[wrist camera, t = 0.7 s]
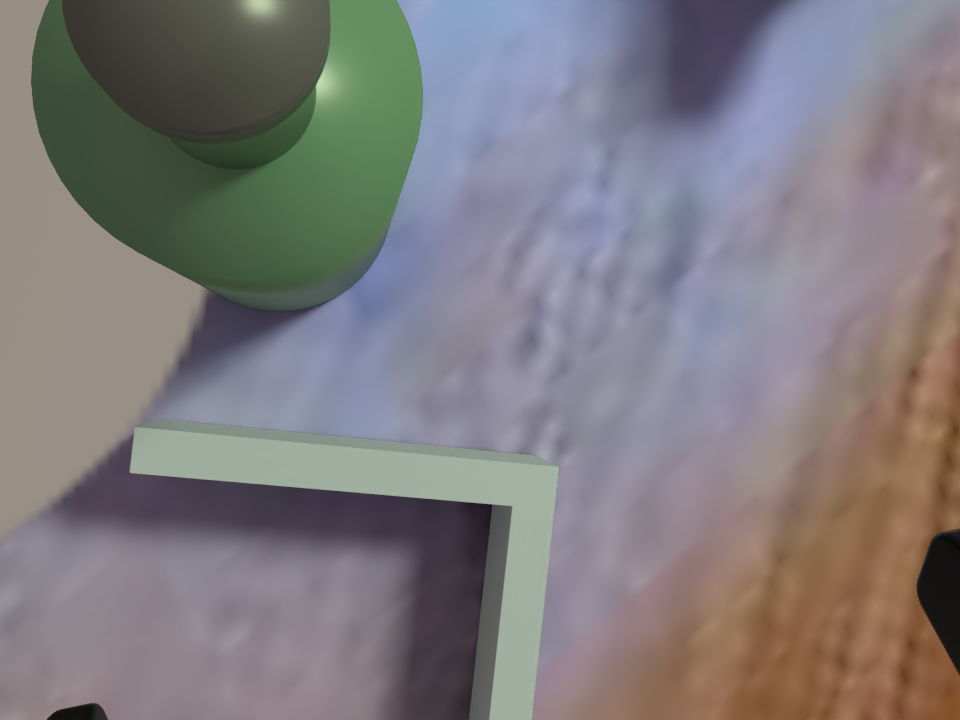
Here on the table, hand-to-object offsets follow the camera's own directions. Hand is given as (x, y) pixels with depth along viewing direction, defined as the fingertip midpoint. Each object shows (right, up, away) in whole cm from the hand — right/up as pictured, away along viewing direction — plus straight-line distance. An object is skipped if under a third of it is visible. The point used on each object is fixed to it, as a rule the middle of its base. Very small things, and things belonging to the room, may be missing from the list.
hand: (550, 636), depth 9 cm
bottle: (-6, +7, +13) cm, 15 cm away
